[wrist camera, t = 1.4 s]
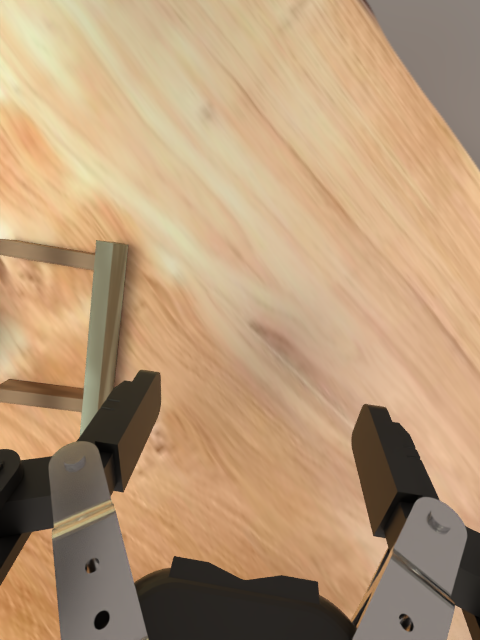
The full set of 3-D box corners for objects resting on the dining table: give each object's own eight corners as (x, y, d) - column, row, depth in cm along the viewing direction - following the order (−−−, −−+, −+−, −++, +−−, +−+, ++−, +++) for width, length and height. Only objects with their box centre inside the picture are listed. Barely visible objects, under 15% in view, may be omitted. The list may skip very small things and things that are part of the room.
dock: (8, 403, 37) (-25, 426, 32) (14, 225, 33) (-21, 220, 28) (110, 416, 38) (94, 440, 33) (128, 244, 34) (113, 243, 29)
